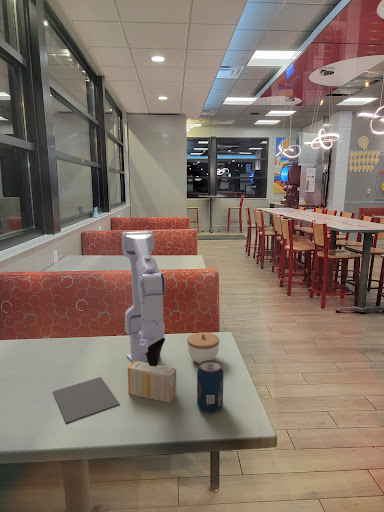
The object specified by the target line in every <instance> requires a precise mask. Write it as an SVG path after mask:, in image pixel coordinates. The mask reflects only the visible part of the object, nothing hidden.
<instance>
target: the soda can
mask: <svg viewBox="0 0 384 512" xmlns="http://www.w3.org/2000/svg"><path fill="white" fill-rule="evenodd" d="M198 365H199V366H198V368H197V371H196V404H197V407H198V408H199V409H200V411H202V412H204V413H207V414H215V413H218V412H219V411H220V410H221V408H222V407H223V405H224V370H223V368H222V364H221V363H220V362H218V361H217V360H214V359H213V360H207V361H203V362H201V363H200V364H198Z"/></svg>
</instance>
